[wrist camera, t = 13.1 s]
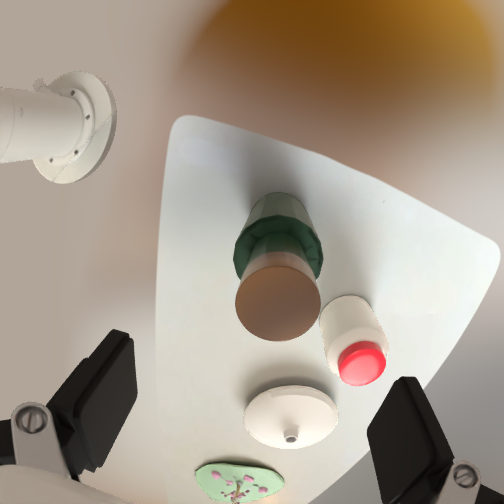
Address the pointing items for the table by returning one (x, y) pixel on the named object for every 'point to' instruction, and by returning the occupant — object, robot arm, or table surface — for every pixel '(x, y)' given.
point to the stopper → (278, 297)
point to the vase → (290, 416)
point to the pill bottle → (353, 340)
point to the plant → (237, 482)
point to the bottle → (278, 233)
